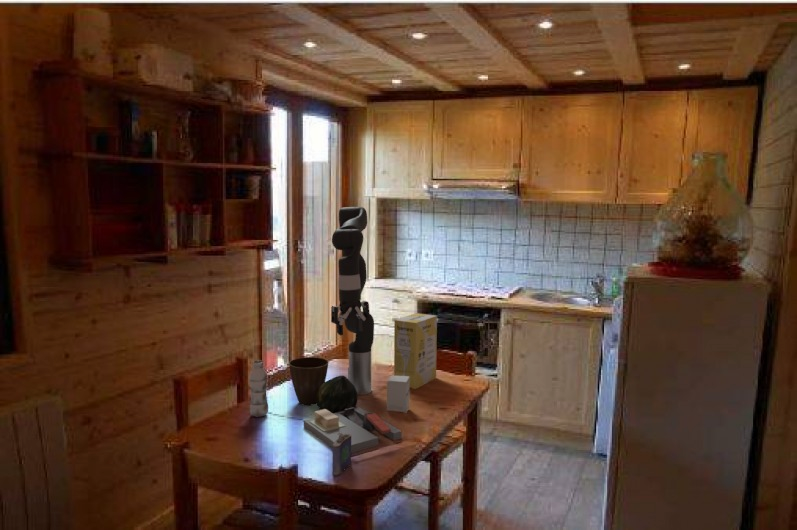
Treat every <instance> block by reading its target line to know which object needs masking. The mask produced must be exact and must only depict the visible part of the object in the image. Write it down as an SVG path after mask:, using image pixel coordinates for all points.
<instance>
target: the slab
mask: <svg viewBox="0 0 797 530" xmlns="http://www.w3.org/2000/svg"><path fill="white" fill-rule="evenodd" d="M313 415H314V417H313V418H314V420H315V421H317V422H318V423H320V424H321V425H323V426H324V427H326V428H327V429H329V428H332V427H336V426H339V417H338V416H336V415H335V414H333V413H331V412H330V411H328V410H326V409H323V410H320V409H318V410H316V411H314V414H313Z"/></svg>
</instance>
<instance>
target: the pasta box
mask: <svg viewBox="0 0 797 530" xmlns="http://www.w3.org/2000/svg"><path fill="white" fill-rule="evenodd" d="M393 327H394V328H393V329H394V333H393V334H394V335H393V336H394V337H393V338H394V340H393V342H394V343H393V346H394V352H393V357H394V358H393V360H394V361H393V365H394V366H393V376H409V377H410V378H409V389H414V390H416V389H418V388H420V387H422V386H424V385H426V384H428V383H429V382H432V381H433V380H435V379H437V353H438V351H437V347H438V346H437V341H438V339H437V337H438V336H437V335H438V334H437V333H438V329H437V328H438V315H433V314H428V313H427V314H426V313H418V312H417V313H413V314H409V315H407V316H404V317H403V316H402V317H400V318H397V319H394V326H393ZM434 378H435V379H434Z"/></svg>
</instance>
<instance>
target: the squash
mask: <svg viewBox="0 0 797 530" xmlns="http://www.w3.org/2000/svg"><path fill="white" fill-rule="evenodd" d="M357 404H358V395H357V391H356V388H355V386H354V385H353V384H352V383H351V382H350V381H349V380H348V377H346V375H337V376H335V377H333V378H331V379H328V380H325V383H323V384H322V385H321V386H320V388H319V390H318V391H317V394H316V404H315V405H316V406H317V408H318V410H323V409H326V410H328V411H330V412H331V413H337V412H341V411H345V409H348V408H352V407H354V408H357Z"/></svg>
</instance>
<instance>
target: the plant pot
mask: <svg viewBox="0 0 797 530" xmlns="http://www.w3.org/2000/svg"><path fill="white" fill-rule="evenodd" d="M288 366H289V373H290V378H291V382H292V386H293V389H294V393H295V396H296V398H297V401H298V403H299V405H301V406H306V407H309V406H316V405H317V404H316V394H317V391H318V390H319V388H320V386H321V385H322V384H323V383H325V382H326V381H327V380H326V379H327V375H328V370H329V361H328V360H327V358H326V359H325V358H322V357H315V356H314V357H313V356H312V357H310V356H307V357H299V358H298V357H297V358H295V359H292V360H289V363H288Z"/></svg>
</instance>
